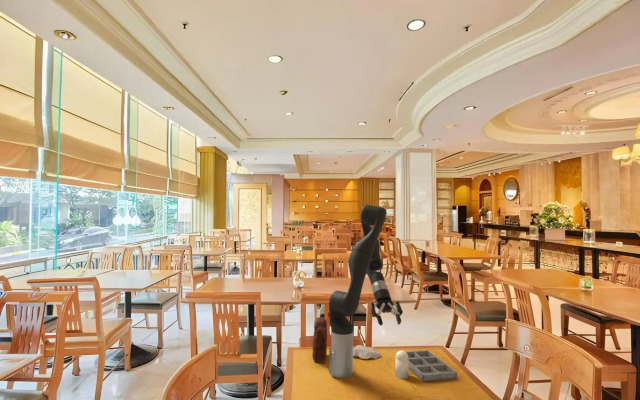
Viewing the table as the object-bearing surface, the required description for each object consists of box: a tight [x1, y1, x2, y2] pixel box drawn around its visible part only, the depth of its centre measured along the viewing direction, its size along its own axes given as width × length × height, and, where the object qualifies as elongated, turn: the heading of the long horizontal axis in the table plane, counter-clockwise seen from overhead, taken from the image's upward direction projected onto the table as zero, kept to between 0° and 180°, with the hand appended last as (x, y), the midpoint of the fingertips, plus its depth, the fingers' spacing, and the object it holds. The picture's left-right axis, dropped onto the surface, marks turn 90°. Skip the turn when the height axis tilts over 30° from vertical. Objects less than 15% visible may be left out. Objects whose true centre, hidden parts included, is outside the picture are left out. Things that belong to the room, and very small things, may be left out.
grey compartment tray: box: [405, 349, 458, 383], centre depth 145 cm, size 15×22×3 cm, turn 12°
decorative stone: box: [353, 344, 383, 360], centre depth 157 cm, size 11×4×15 cm
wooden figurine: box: [312, 316, 328, 364], centre depth 153 cm, size 12×6×18 cm, turn 3°
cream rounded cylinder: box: [394, 350, 409, 380], centre depth 138 cm, size 5×5×10 cm
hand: (390, 324), depth 150 cm, fingers open, 8 cm apart
